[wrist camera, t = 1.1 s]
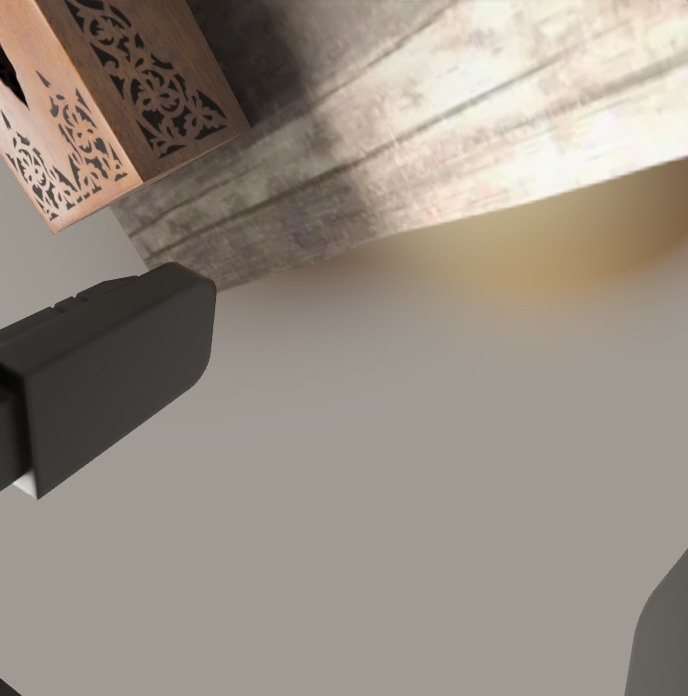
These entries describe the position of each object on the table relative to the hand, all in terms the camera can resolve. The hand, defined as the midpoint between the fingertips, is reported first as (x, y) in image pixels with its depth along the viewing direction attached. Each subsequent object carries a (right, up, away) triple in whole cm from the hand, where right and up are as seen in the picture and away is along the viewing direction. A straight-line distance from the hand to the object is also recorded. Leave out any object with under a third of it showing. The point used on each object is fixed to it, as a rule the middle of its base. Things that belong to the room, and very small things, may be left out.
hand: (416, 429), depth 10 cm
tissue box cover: (-18, +27, +36) cm, 49 cm away
